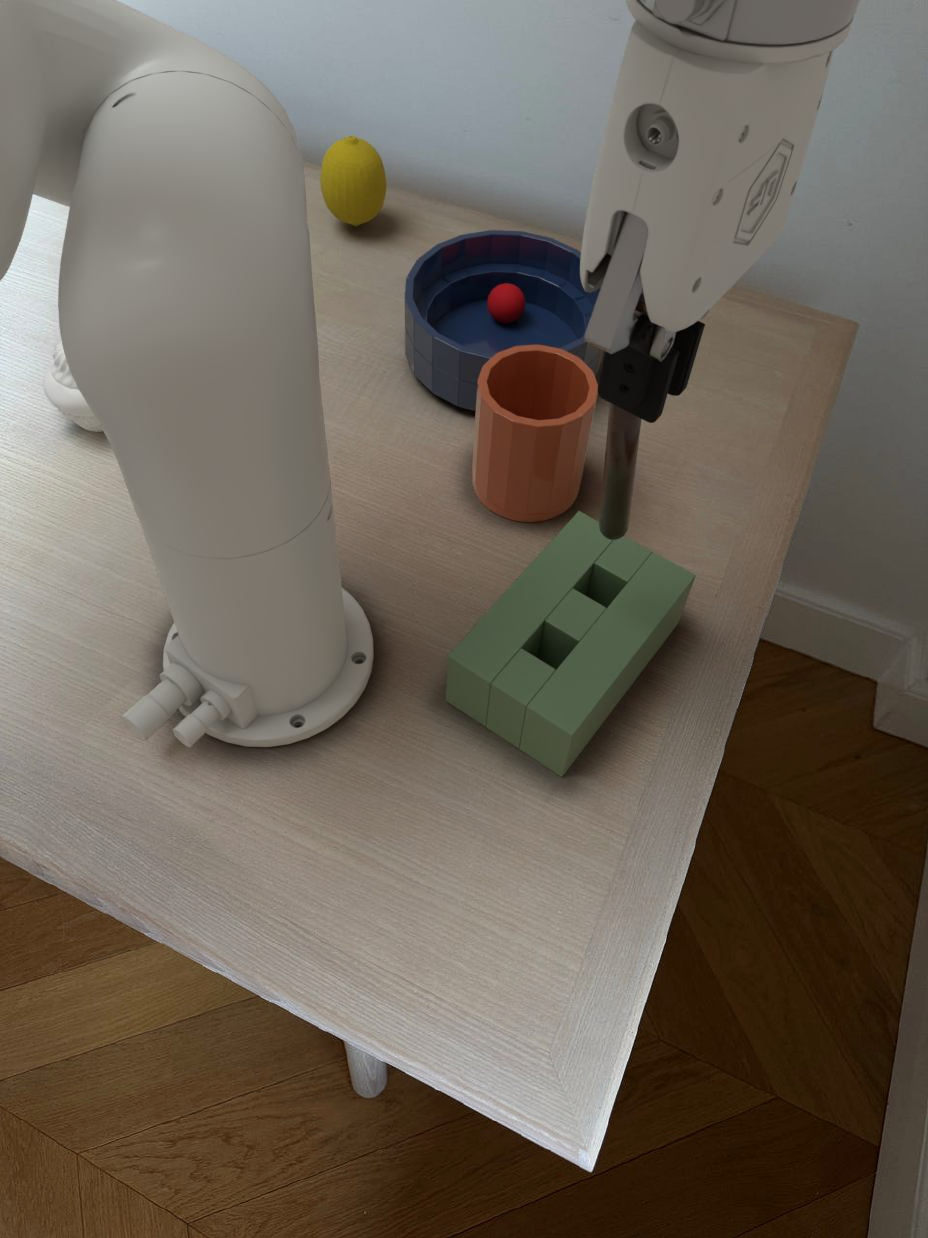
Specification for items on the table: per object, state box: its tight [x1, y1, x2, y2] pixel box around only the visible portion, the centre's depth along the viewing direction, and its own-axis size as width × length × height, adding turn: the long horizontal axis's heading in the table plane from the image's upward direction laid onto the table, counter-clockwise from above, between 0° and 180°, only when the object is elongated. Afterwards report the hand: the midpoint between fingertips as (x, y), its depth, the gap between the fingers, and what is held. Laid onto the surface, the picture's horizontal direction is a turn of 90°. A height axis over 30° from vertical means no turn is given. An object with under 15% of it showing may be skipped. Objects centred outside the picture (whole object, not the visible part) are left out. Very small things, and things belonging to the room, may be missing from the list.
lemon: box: [319, 135, 387, 227], centre depth 85 cm, size 6×6×8 cm
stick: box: [598, 302, 648, 540], centre depth 50 cm, size 2×2×16 cm
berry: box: [487, 283, 525, 323], centre depth 79 cm, size 3×3×3 cm
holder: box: [445, 510, 696, 778], centre depth 61 cm, size 8×14×5 cm, turn 144°
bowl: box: [404, 229, 605, 412], centre depth 77 cm, size 15×15×6 cm
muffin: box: [42, 339, 104, 433], centre depth 71 cm, size 6×6×7 cm
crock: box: [471, 345, 599, 523], centre depth 68 cm, size 8×8×9 cm
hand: (641, 392), depth 48 cm, fingers closed on stick, 1 cm apart
